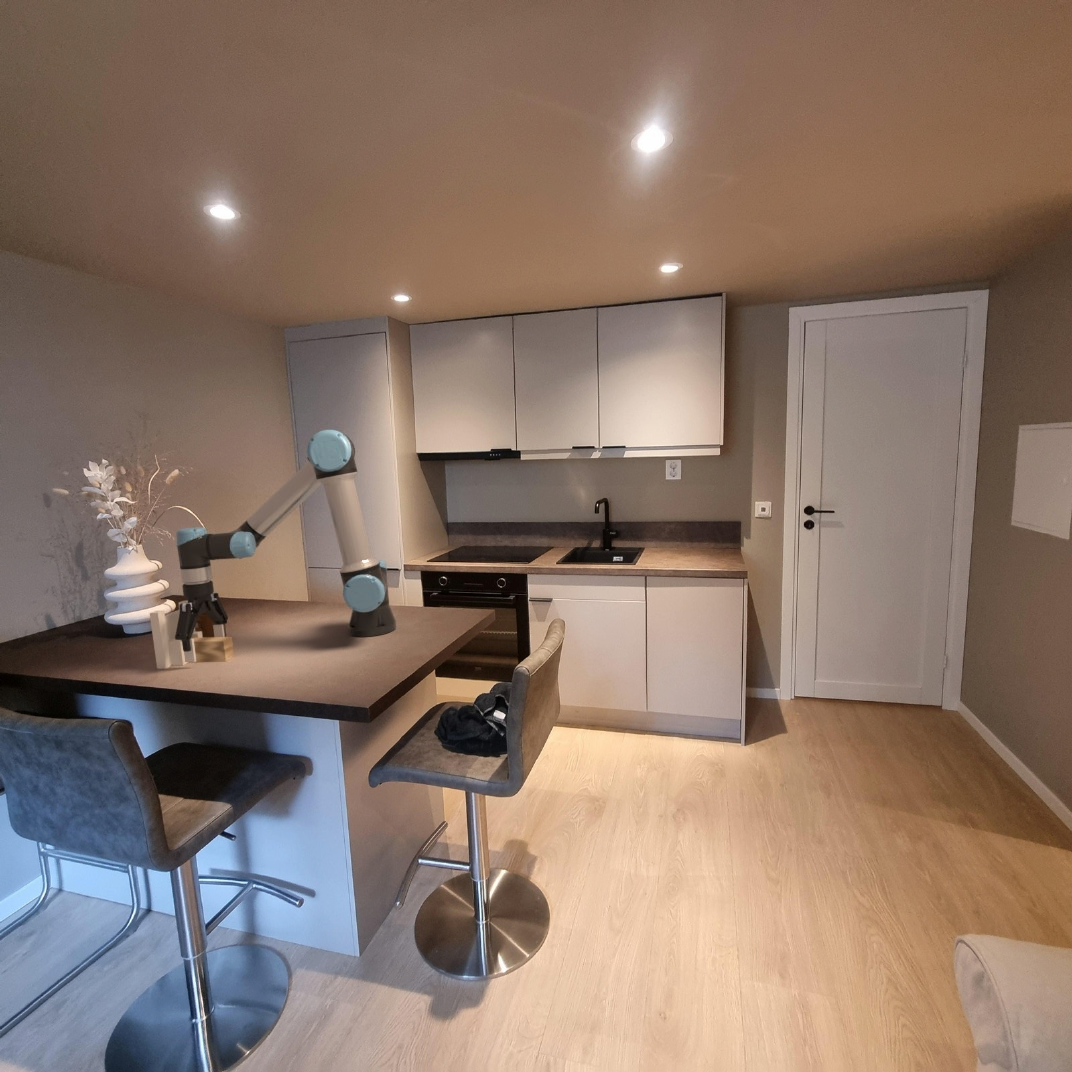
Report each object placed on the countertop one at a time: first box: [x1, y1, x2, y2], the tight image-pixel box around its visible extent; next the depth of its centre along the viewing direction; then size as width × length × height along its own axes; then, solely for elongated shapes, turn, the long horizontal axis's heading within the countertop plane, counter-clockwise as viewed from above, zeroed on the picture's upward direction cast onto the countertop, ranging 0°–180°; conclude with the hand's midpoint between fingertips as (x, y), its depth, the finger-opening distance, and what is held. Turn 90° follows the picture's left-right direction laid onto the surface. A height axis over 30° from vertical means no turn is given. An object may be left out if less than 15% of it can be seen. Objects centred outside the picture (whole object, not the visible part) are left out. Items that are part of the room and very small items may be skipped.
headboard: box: [149, 599, 203, 670], centre depth 164 cm, size 6×14×16 cm, turn 177°
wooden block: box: [191, 636, 235, 663], centre depth 164 cm, size 14×4×6 cm, turn 87°
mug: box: [195, 613, 227, 637], centre depth 180 cm, size 12×8×9 cm, turn 159°
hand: (206, 653), depth 164 cm, fingers open, 13 cm apart
